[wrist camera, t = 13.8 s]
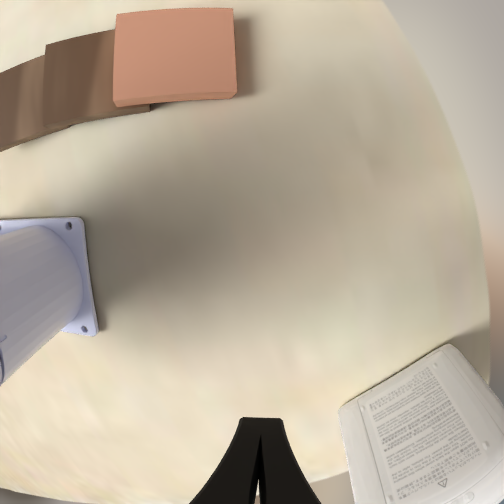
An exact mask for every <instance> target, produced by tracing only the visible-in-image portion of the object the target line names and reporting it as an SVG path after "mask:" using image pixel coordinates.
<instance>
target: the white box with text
mask: <svg viewBox="0 0 504 504" xmlns="http://www.w3.org/2000/svg"><path fill="white" fill-rule="evenodd" d="M338 416H339V424H340V429H341V434H342V438H343V443H344V448H345V453H346V458H347V463H348V468H349V474H350V479H351V484H352V490H353V495H354V500H355V504H498V503H500V502H501V501H502V500H503V499H504V405H503V404H502V403H501V401H500V400H499V399H498V397H497V396H496V395H495V394H494V392H493V391H492V390H491V389H490V387H489V386H488V385H487V383H486V382H485V381H484V380H483V378H482V377H481V376H480V375H479V374H478V372H477V371H476V370H475V369H474V367H473V366H472V365H471V364H470V363H469V361H468V360H467V359H466V358H465V357H464V356H463V354H462V353H461V352H460V351H459V350H458V349H457V348H456V347H454V346H452V345H451V344H445V345H443V346H441V347H440V348H438V349H436V350H434V351H432V352H431V353H429V354H428V355H426V356H425V357H423V358H422V359H420V360H418V361H417V362H415V363H414V364H412V365H411V366H409V367H407V368H406V369H404V370H402V371H401V372H399V373H397V374H396V375H394V376H393V377H391V378H389V379H388V380H386V381H384V382H382V383H381V384H379V385H377V386H376V387H374V388H372V389H370V390H368V391H367V392H365V393H363V394H361V395H360V396H358V397H356V398H354V399H353V400H351V401H349V402H348V403H346V404H345V405H343V406H342V407H341V408H340V409H339V410H338Z"/></svg>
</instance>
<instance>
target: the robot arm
mask: <svg viewBox="0 0 504 504" xmlns="http://www.w3.org/2000/svg"><path fill="white" fill-rule="evenodd" d="M69 222H70V223H71V224H72V229H71V228H70V227H69ZM84 326H85V327H86V328H87V330H86V329H85V328H84ZM59 331H63V332H69V333H75V334H81V335H87V336H95V335H96V334H97V333H98V332H99V328H98V322H97V317H96V312H95V306H94V300H93V294H92V288H91V281H90V274H89V266H88V258H87V249H86V239H85V228H84V222H83V220H82V219H81V218H80V217H59V218H31V219H9V220H0V386H1V385H2V384H3V383H4V382H5V381H6V380H7V379H8V378H9V377H10V376H11V375H12V374H13V373H14V372H16V371H17V370H18V369H19V368H20V367H21V366H22V365H23V364H24V363H25V362H26V361H27V360H28V359H29V358H31V357H32V356H33V355H34V354H35V353H36V352H37V351H38V350H39V349H40V348H41V347H43V346H44V345H45V344H46V343H47V342H48V341H49V340H50V339H51V338H53V337H54V336H55V335H56V334H57V333H58V332H59ZM258 479H259V495H260V504H321V502H320V501H319V499H318V498H317V496H316V495H315V493H314V492H313V490H312V489H311V487H310V485H309V484H308V482H307V480H306V478H305V477H304V475H303V473H302V471H301V469H300V467H299V465H298V463H297V461H296V458H295V456H294V454H293V452H292V449H291V447H290V444H289V441H288V439H287V436H286V432H285V429H284V424H283V420H281V419H280V418H252V417H243V418H241V419H240V420H239V424H238V427H237V430H236V432H235V435H234V437H233V439H232V441H231V443H230V446H229V448H228V449H227V451H226V453H225V455H224V456H223V458H222V460H221V462H220V463H219V465H218V467H217V468H216V470H215V471H214V472H213V474H212V475H211V477H210V478H209V480H208V481H207V483H206V484H205V485H204V487H203V488H202V489H201V490H200V492H199V493H198V494H197V495H196V496H195V498H194V499H193V500H192V501H191V502H190V503H189V504H254V503H255V497H256V491H257V485H258Z"/></svg>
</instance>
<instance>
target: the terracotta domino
mask: <svg viewBox="0 0 504 504" xmlns="http://www.w3.org/2000/svg"><path fill="white" fill-rule="evenodd" d="M236 93H237V79H236V60H235V41H234V21H233V8H179V9H162V10H149V11H139V12H131V13H123V14H117V16H116V28H115V43H114V65H113V102H114V103H115V105H116V106H117V107H124V106H132V105H140V104H150V103H160V102H171V101H185V100H204V99H231V98H232V97H233V96H234V95H235V94H236Z"/></svg>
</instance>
